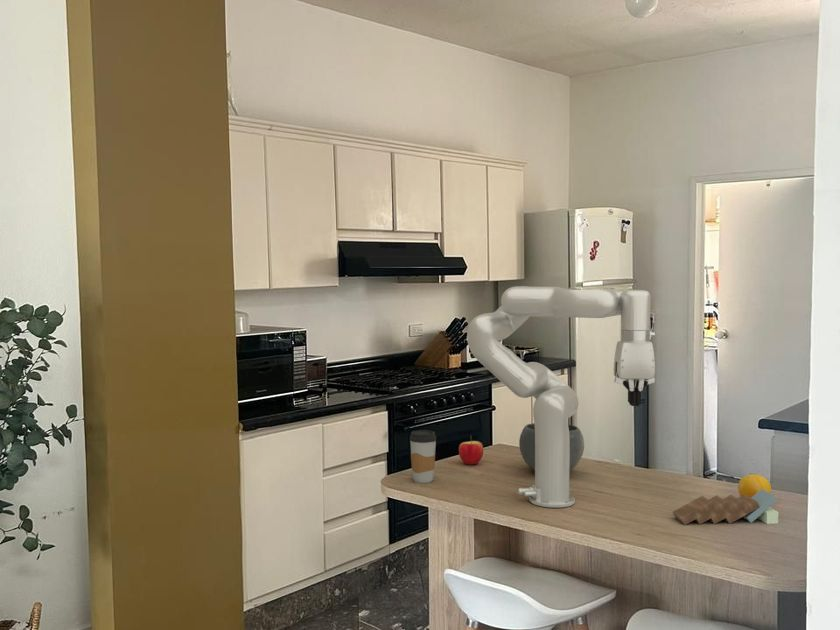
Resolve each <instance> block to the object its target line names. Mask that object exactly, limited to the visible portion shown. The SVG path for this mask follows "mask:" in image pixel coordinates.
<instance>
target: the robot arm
mask: <svg viewBox="0 0 840 630" xmlns="http://www.w3.org/2000/svg"><path fill="white" fill-rule="evenodd" d="M651 298H652V297H651V293H650V292H649V291H647V290H645V289H628V290H620V289H616V288H615V289H614V288H601V289H599V288H598V289H577V288H576V289H575V288H573V289H572V288H564V287H561V286H528V285H520V286H511V287H509V288H507V289H506V290H505V291H504V292H503V293H502V294H501V298H500V303H501V305H500V306H499V307H497V309H496V310H495V311H493V312H487V313H481V314H479V315H477V316H475V317H474V318H473V319H472V320H471V321H470V323H469V325H468V328H467V332H466V333H467V334H466V335H467V336H466V339H467V344H468V348H469V351H470V352H471V354H472V355H473V356H474V358H475V359H476V360H477V361H478V362H479V363H480V364H481V365H483V367H484V368H486V369H487V371H489V372H490V373H491V374H492V375H493V376H494V377H496V379H498V380H499V381H500V382H501V383H502V384H503V385H504V386H505V387H506V388H508V389H509V390H510V391H511V392H512V393H513V394H514V395H515V396H517V397H518V398H523V399H527V398H530V397H533V398H534V399H535V401H534V402H533V403H534V404H533V405H532V406H533V407H532V415H533V423H534V425H535V470H534V483H532V484H531V485H532V486H529V487H518V488H517V493H518V495H520V496H521V495H523V496H524V497H529V498H528V500H529V502H530V504H531V503H532V504H533V505H535V506H537V507H543V508H552V509H553V508H554V509H555V508H556V509H558V508H567V507H571V506H573V505H574V504H575V502H576V500H575V499H576V498H575V497H574V496H573V495H571V494H570V471H569V462H570V438H569V427H568V424H569V418H571V417H572V416H573V415H574V414H575V413H576V412H577V410H578V409H579V397H578V395H577V394H576V393H577V392H576V391H574V390H573V388H571V386H569V385H568V384H567V383H566V382H565V381H563V379H561V378H560V377H559V376H558V375H557V374H555V372H553V371H552V370H551V369H549V367H547V366H546V365H544V364H542V363H540V362H537V361H529V362H526V361H523V360H522V359H521V358H520V357H519V356H517V355H516V353H515V352H513V351H512V350H511V349H510V348H509V347H507V346H505V345H504V344H502V343H501V342H500V341H502V340H503V341H504V340H505V339H507V338H509V337H510V336H511V335H512V334H513V333H514V332H516V331H517V330H518V329H519V328H520V327H521V326H522V325H523V324H524V323H525V322H526V321H528V319H529V318H530V317H538V318H540V317H541V318H560V319H561V318H583V319H585V318H586V319H604V318H605V319H606V318H609V317H617V316H620V340H618V341H617V342H616V344H615V345H616V346H615V350H614V351H615V353H614V359H613V360H614V361H613V376H614V379H613V380H614V381H613V382H614V383H615V384H618V385H622V386H623V387H625V389H626V390H627V402H628V404H629V405H630V406H632V407H640V403H641V402H642V391H643V389H644V388H645V387H647V386H648V385H651V384H654V383H655V382H656V379H655V376H656V359H655V356H656V355H655V350H654V345H653V342H652V341H651V339H652V338H655V337H656V333H655V331H652V330H651V301H652V300H651ZM634 380H635V384H634Z"/></svg>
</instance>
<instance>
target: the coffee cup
mask: <svg viewBox="0 0 840 630" xmlns="http://www.w3.org/2000/svg"><path fill="white" fill-rule="evenodd" d="M436 441H437V435H436V432H435V431H432V430H428V429H427V430H426V429H423V430H422V429H419V430H413V431H411V434H410V435H409V443H410V461H411V473H412V480H413V482H415V483H418V484H428V483H432V482H433V480H434V475H435V474H434V473H435V464H436V446H437V445H436V443H437V442H436Z"/></svg>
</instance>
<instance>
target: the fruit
mask: <svg viewBox="0 0 840 630" xmlns="http://www.w3.org/2000/svg"><path fill="white" fill-rule="evenodd" d="M761 489H763V490H765V491H766V492H768V493H770V494H772V486H771V484H770V482H769V480H768V479H767V478H766V477H764V476H762V474H761V475H760V474H757V473H756V474H755V473H754V474H753V473H752V474H747V475H744V476H743V477H741V478H740V479H739V480H738V485H737V491H738V494H739V497H742V496H744V495H747V496H749V497H751V498H752V497H753V496H754V495H755V494H756V493H757V492H759V491H760V490H761Z"/></svg>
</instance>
